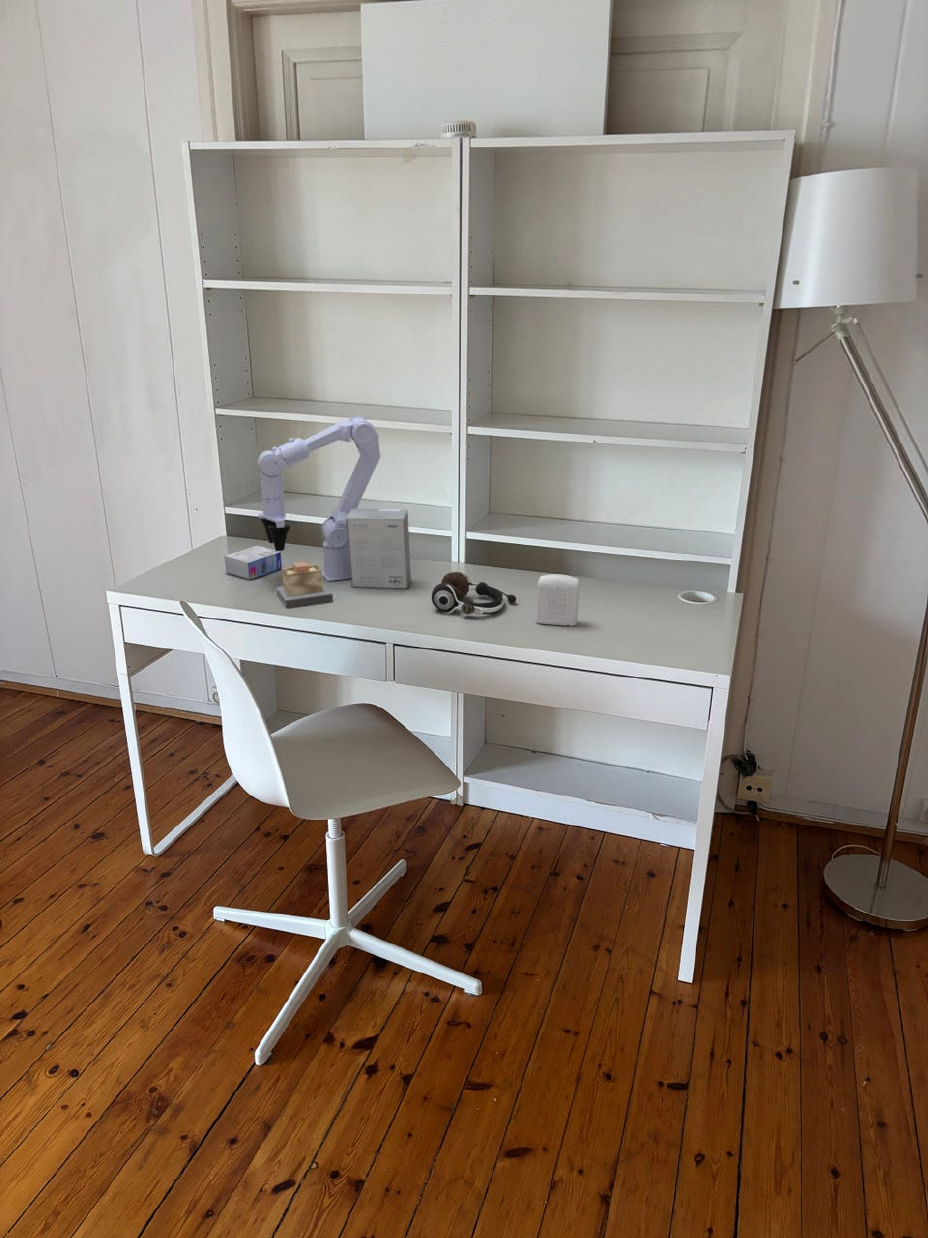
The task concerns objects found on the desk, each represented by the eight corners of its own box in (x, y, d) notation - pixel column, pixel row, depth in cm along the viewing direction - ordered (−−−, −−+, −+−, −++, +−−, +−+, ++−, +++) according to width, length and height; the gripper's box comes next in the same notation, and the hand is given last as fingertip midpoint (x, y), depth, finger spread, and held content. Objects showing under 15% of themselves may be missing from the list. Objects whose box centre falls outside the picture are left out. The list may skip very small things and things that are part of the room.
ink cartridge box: (250, 581, 246) (288, 566, 257) (248, 562, 244) (287, 548, 255) (226, 574, 251) (264, 559, 262) (224, 555, 249) (262, 541, 260)
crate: (306, 568, 234) (305, 561, 233) (309, 572, 231) (309, 565, 230) (293, 570, 232) (292, 563, 232) (296, 574, 229) (296, 567, 229)
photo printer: (577, 620, 221) (580, 573, 216) (577, 627, 217) (580, 579, 213) (536, 618, 223) (537, 570, 218) (534, 624, 219) (536, 576, 214)
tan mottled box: (317, 584, 238) (316, 564, 235) (322, 591, 233) (321, 570, 231) (283, 589, 234) (282, 568, 232) (288, 596, 230) (287, 574, 228)
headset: (448, 563, 236) (522, 580, 233) (444, 590, 239) (516, 607, 236) (429, 584, 221) (508, 604, 217) (425, 613, 224) (502, 632, 221)
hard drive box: (411, 577, 247) (409, 509, 238) (407, 589, 241) (405, 519, 231) (355, 575, 249) (351, 507, 239) (350, 587, 242) (345, 518, 233)
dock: (321, 588, 241) (320, 581, 240) (332, 601, 232) (332, 594, 231) (276, 594, 236) (276, 587, 236) (287, 608, 227) (286, 601, 227)
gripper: (251, 492, 242) (255, 540, 247) (263, 505, 229) (267, 556, 235) (277, 489, 244) (281, 537, 250) (291, 502, 232) (294, 552, 237)
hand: (276, 546), depth 242 cm, fingers open, 7 cm apart
